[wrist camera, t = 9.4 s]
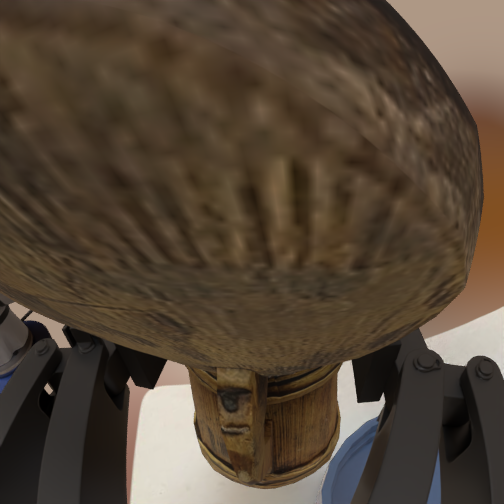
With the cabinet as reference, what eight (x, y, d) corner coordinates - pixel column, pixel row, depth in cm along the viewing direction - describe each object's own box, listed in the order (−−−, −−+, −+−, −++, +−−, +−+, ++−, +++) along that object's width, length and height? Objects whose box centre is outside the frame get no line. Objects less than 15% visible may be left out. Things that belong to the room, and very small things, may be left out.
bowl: (277, 497, 19) (277, 486, 17) (398, 401, 27) (409, 379, 25) (393, 596, 5) (413, 599, 3) (498, 470, 13) (521, 451, 11)
